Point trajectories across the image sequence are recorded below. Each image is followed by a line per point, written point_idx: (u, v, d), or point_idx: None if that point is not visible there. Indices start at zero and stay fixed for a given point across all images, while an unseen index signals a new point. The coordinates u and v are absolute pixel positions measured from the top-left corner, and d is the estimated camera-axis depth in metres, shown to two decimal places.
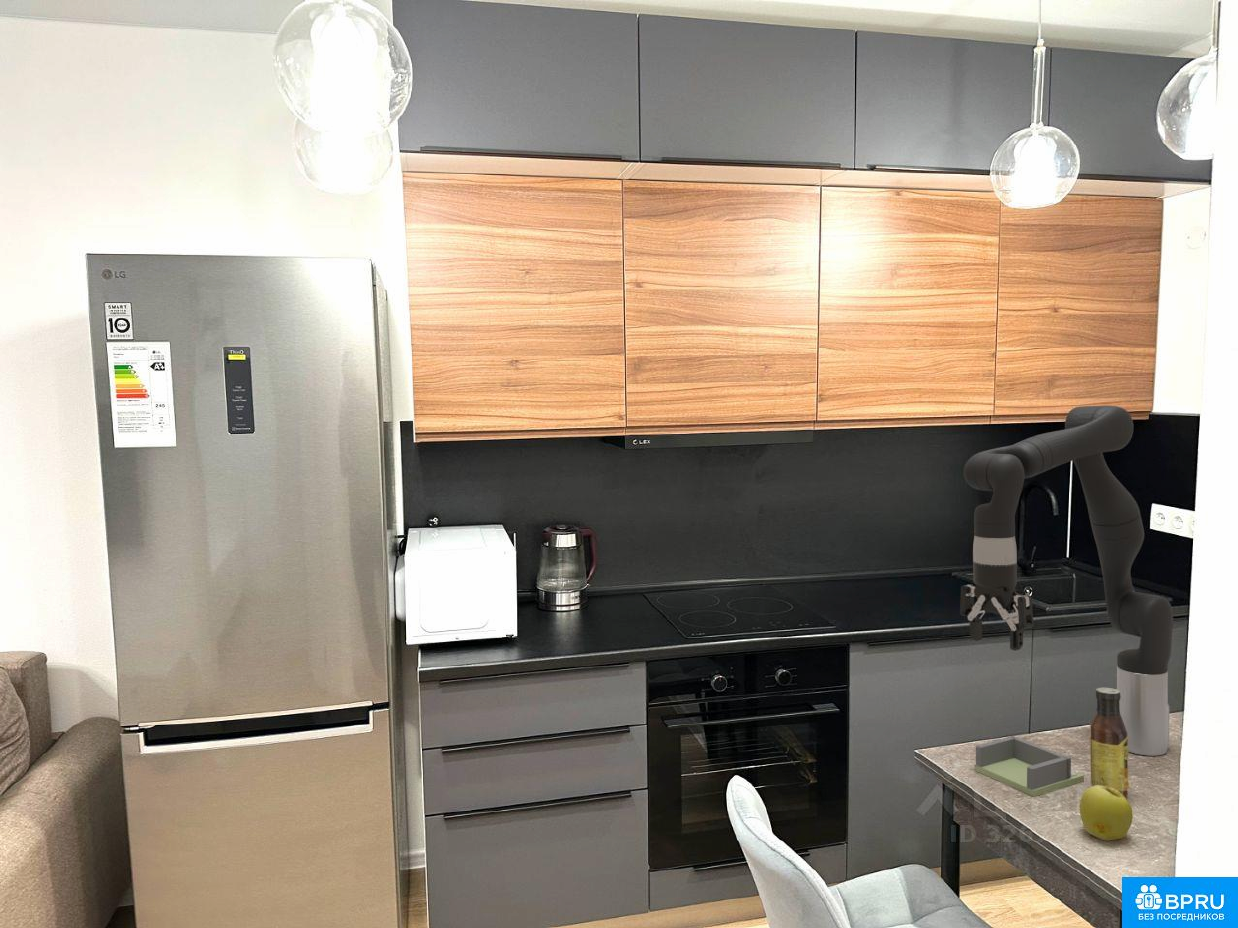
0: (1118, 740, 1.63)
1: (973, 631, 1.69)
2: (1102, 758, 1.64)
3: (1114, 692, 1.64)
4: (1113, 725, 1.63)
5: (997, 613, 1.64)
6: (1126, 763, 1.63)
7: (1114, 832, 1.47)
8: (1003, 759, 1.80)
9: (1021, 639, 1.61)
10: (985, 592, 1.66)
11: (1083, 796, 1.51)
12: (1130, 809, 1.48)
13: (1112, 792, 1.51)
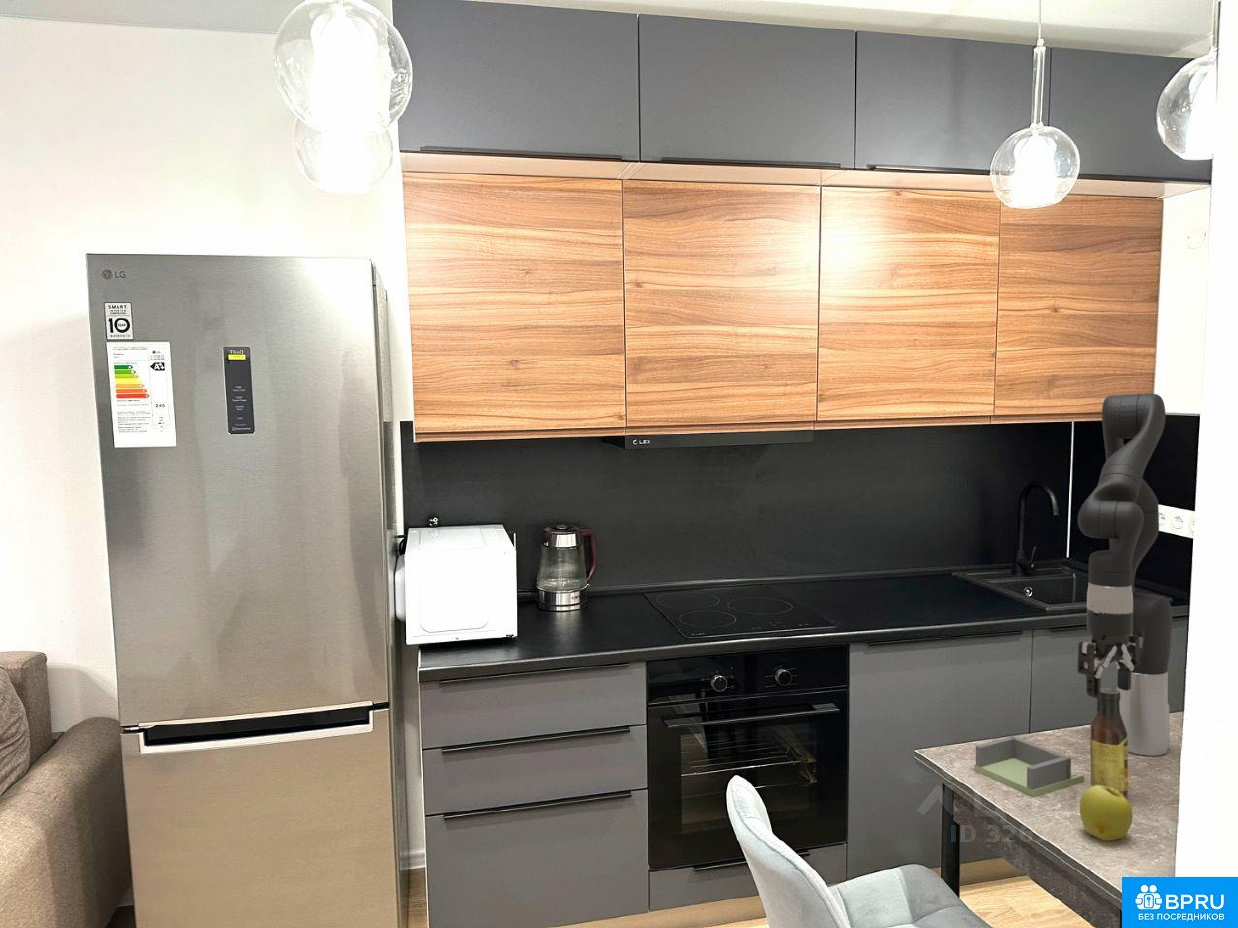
0: (1118, 740, 1.63)
1: (1099, 688, 1.62)
2: (1102, 758, 1.64)
3: (1114, 692, 1.64)
4: (1113, 725, 1.63)
5: (1118, 659, 1.64)
6: (1126, 763, 1.63)
7: (1114, 832, 1.47)
8: (1003, 759, 1.80)
9: None
10: (1110, 643, 1.63)
11: (1083, 796, 1.51)
12: (1130, 809, 1.48)
13: (1112, 792, 1.51)
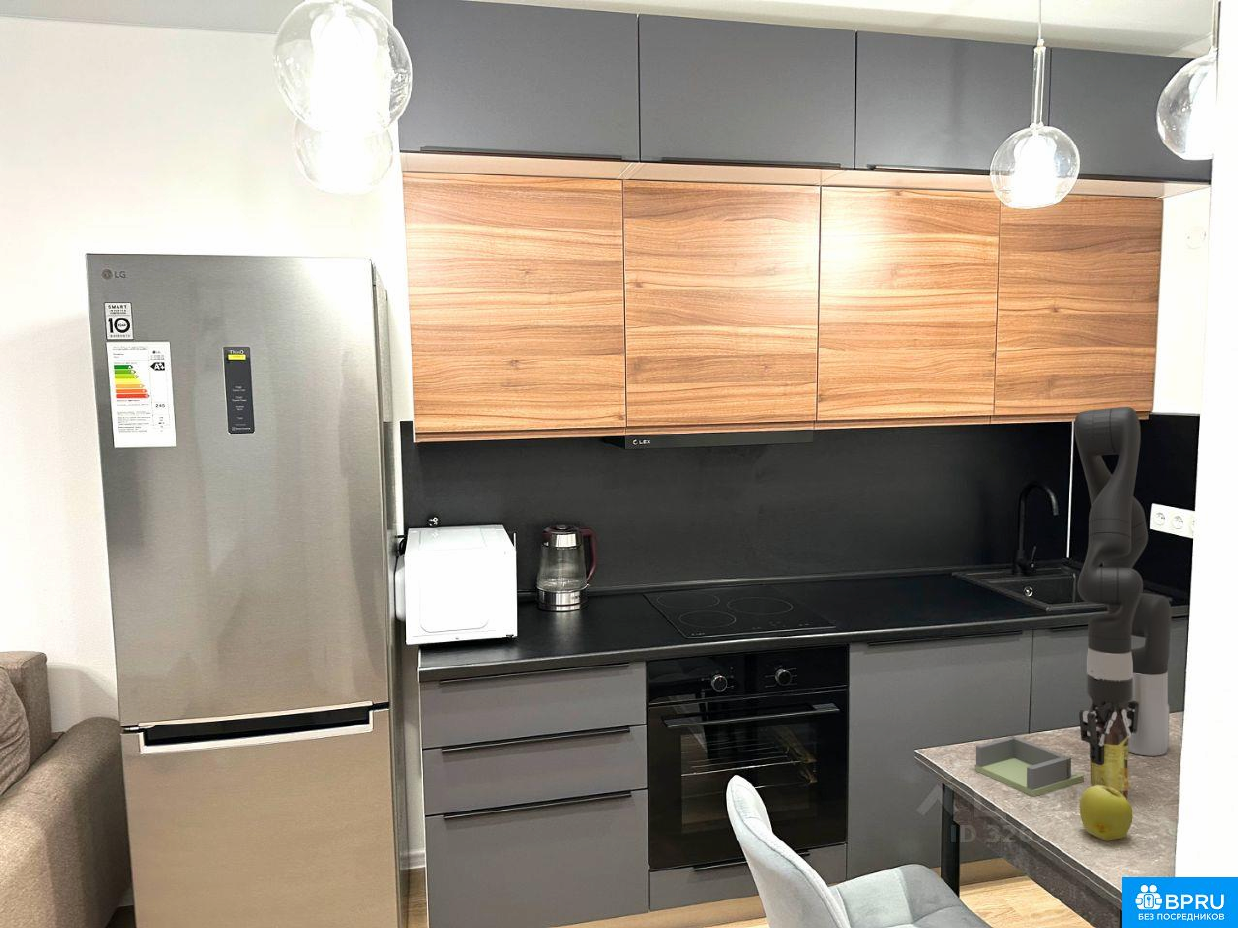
0: (1118, 740, 1.63)
1: (1103, 755, 1.63)
2: None
3: None
4: (1113, 725, 1.63)
5: None
6: (1126, 763, 1.63)
7: (1114, 832, 1.47)
8: (1003, 759, 1.80)
9: None
10: (1110, 708, 1.64)
11: (1083, 796, 1.51)
12: (1130, 809, 1.48)
13: (1112, 792, 1.51)
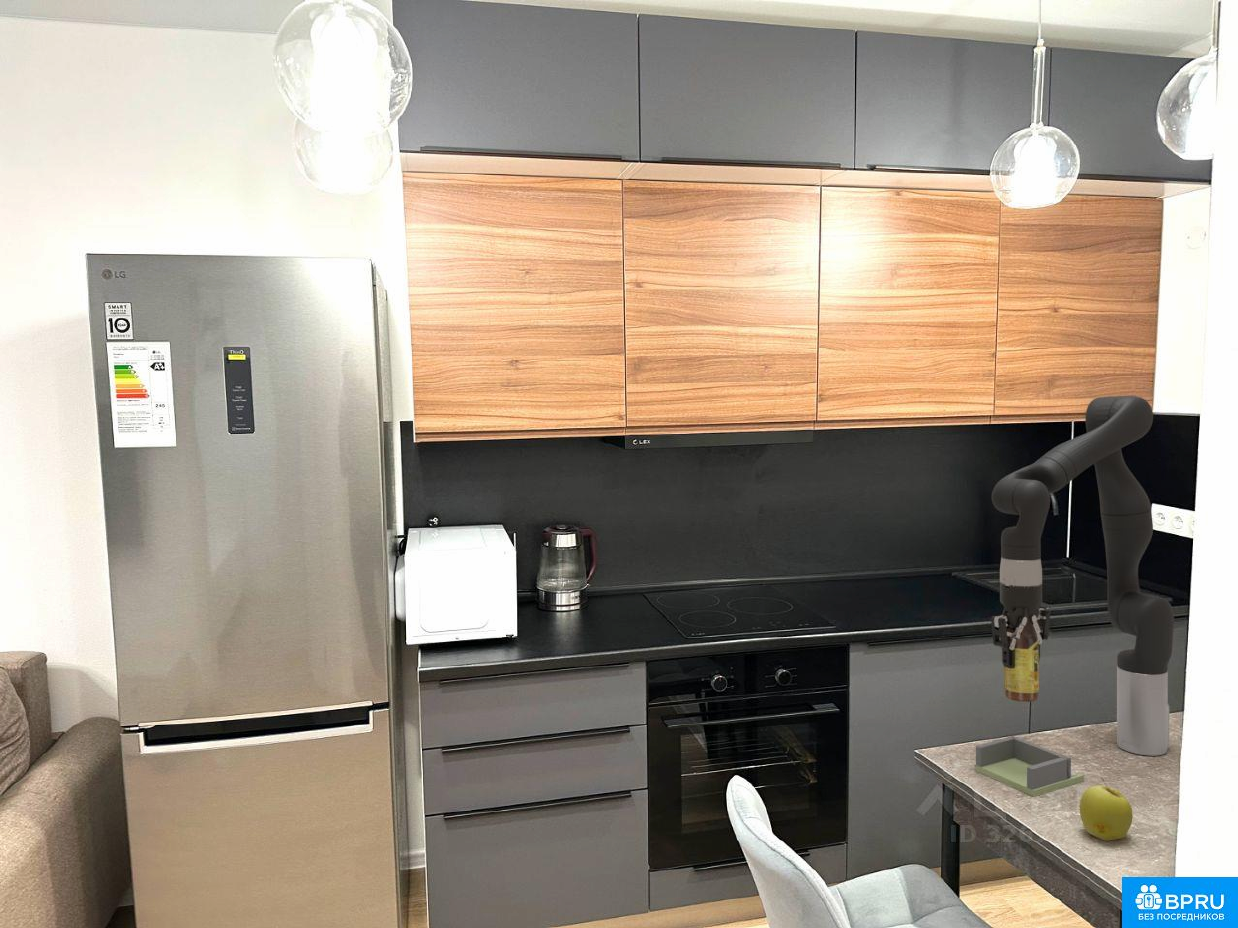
0: (1028, 644, 1.70)
1: (1014, 659, 1.71)
2: None
3: None
4: (1024, 630, 1.70)
5: None
6: (1036, 666, 1.71)
7: (1114, 832, 1.47)
8: (1003, 759, 1.80)
9: None
10: (1021, 614, 1.71)
11: (1083, 796, 1.51)
12: (1130, 809, 1.48)
13: (1112, 792, 1.51)
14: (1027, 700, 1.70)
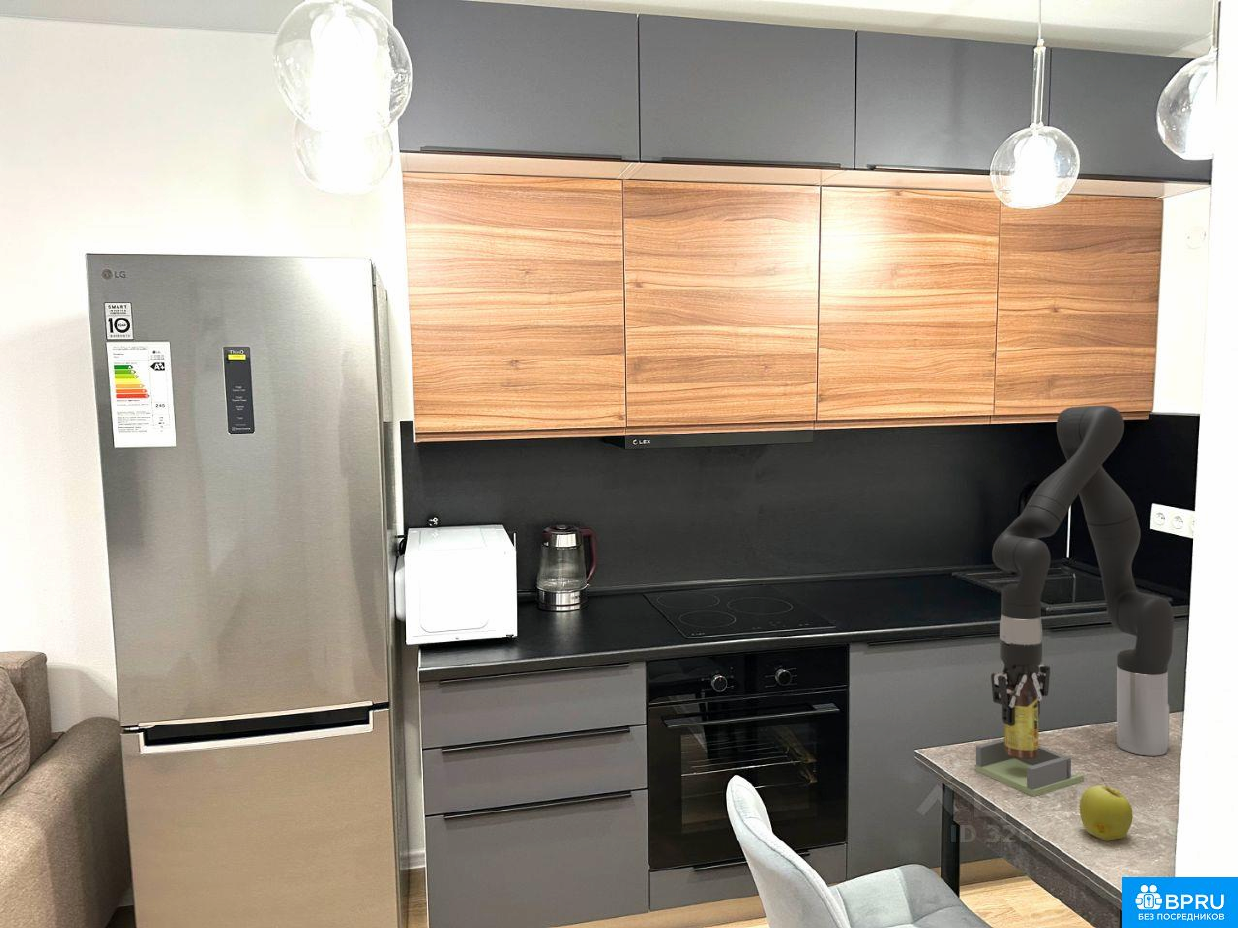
0: (1028, 702, 1.71)
1: (1013, 716, 1.71)
2: None
3: None
4: (1023, 687, 1.71)
5: None
6: (1036, 724, 1.71)
7: (1114, 832, 1.47)
8: (1003, 759, 1.80)
9: None
10: (1021, 671, 1.72)
11: (1083, 796, 1.51)
12: (1130, 809, 1.48)
13: (1112, 792, 1.51)
14: (1027, 757, 1.71)
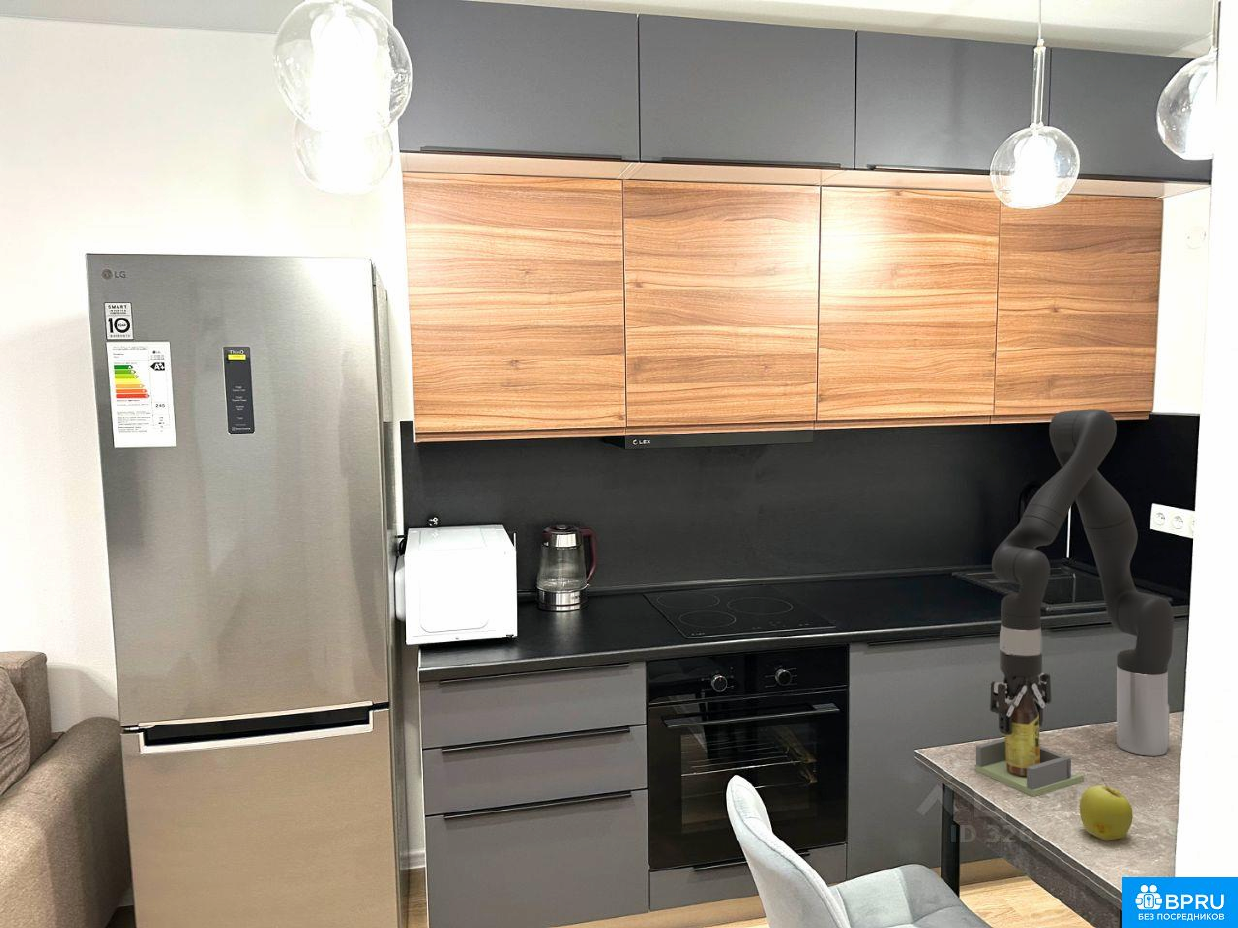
0: (1029, 720, 1.71)
1: (1011, 725, 1.71)
2: (1014, 737, 1.72)
3: None
4: (1024, 705, 1.72)
5: None
6: (1037, 742, 1.72)
7: (1114, 832, 1.47)
8: (1003, 759, 1.80)
9: None
10: (1021, 682, 1.72)
11: (1083, 796, 1.51)
12: (1130, 809, 1.48)
13: (1112, 792, 1.51)
14: None
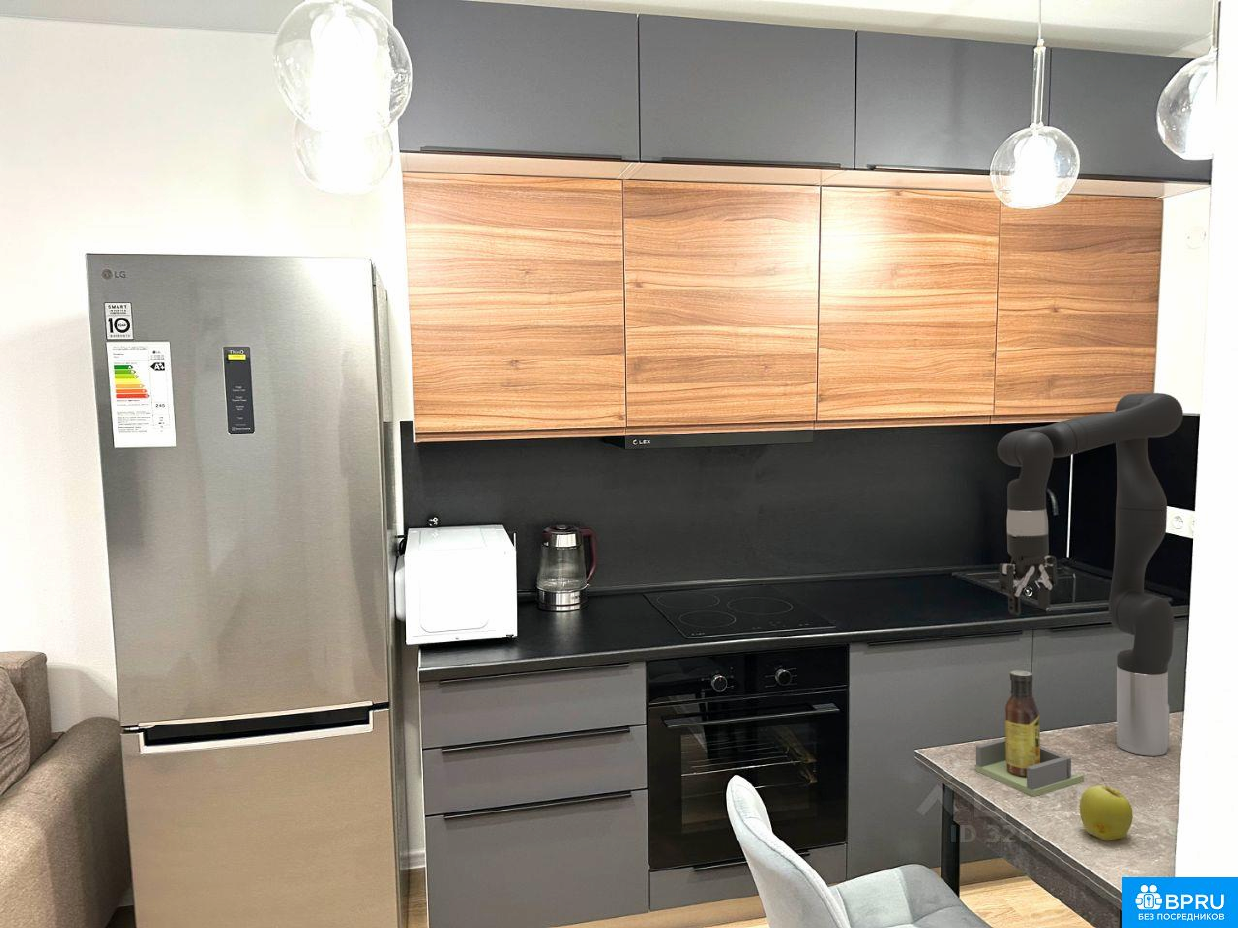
0: (1029, 720, 1.71)
1: (1019, 605, 1.75)
2: (1015, 737, 1.72)
3: (1026, 674, 1.72)
4: (1025, 705, 1.71)
5: (1037, 579, 1.77)
6: (1037, 742, 1.72)
7: (1114, 832, 1.47)
8: (1003, 759, 1.80)
9: None
10: (1028, 563, 1.75)
11: (1083, 796, 1.51)
12: (1130, 809, 1.48)
13: (1112, 792, 1.51)
14: None
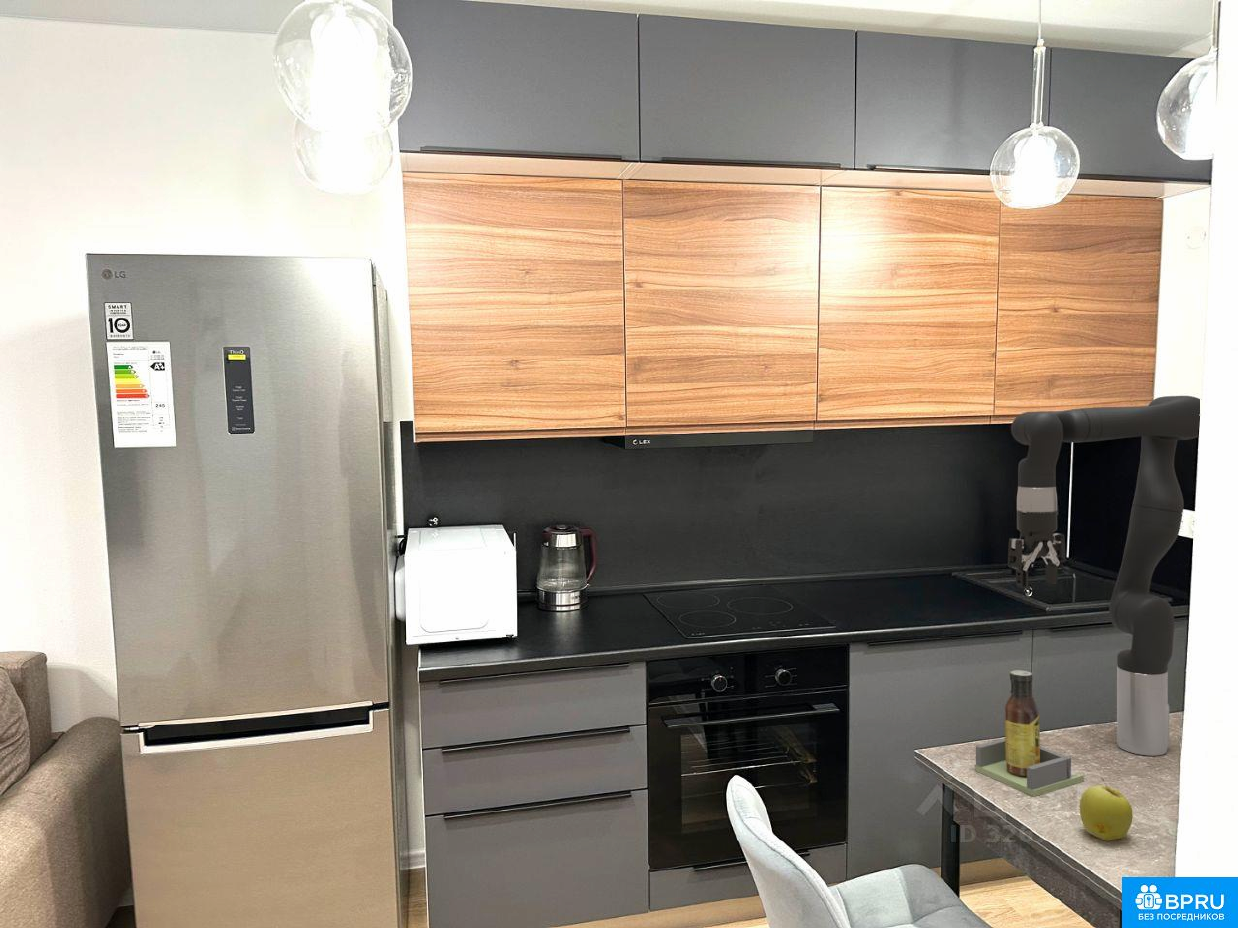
0: (1029, 720, 1.71)
1: (1027, 580, 1.80)
2: (1014, 737, 1.72)
3: (1026, 674, 1.72)
4: (1025, 705, 1.72)
5: (1045, 555, 1.82)
6: (1037, 742, 1.72)
7: (1114, 832, 1.47)
8: (1003, 759, 1.80)
9: None
10: (1037, 539, 1.81)
11: (1083, 796, 1.51)
12: (1130, 809, 1.48)
13: (1112, 792, 1.51)
14: None
